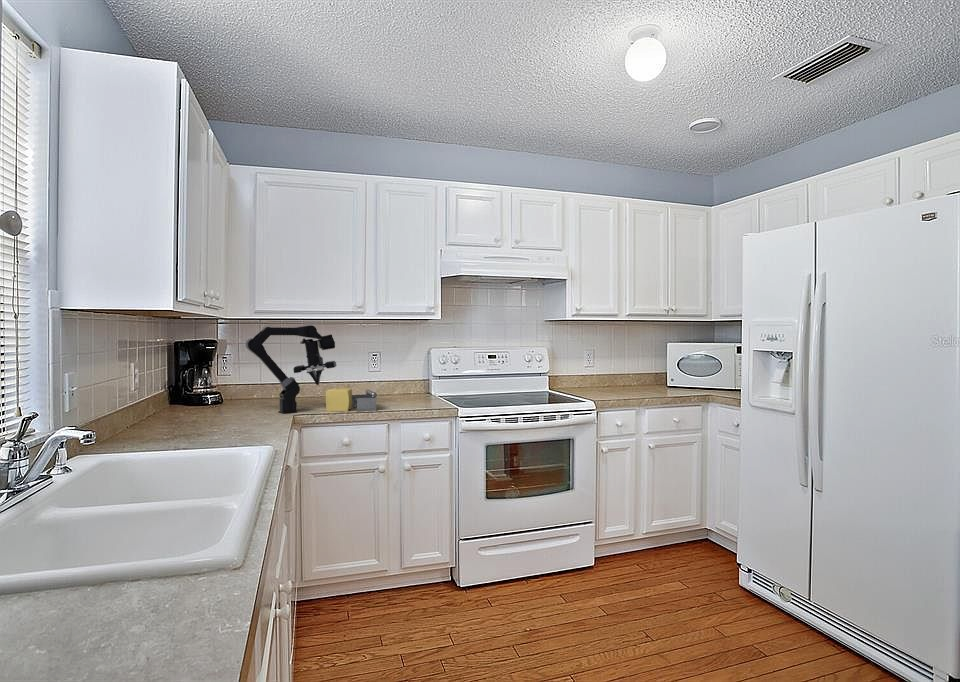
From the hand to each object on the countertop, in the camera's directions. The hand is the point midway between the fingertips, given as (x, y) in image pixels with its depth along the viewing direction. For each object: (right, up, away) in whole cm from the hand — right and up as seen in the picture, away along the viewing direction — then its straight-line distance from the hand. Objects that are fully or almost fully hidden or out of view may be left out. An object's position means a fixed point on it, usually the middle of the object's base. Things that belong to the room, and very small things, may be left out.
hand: (317, 385), depth 275 cm
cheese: (+10, -12, +3) cm, 16 cm away
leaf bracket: (+20, -12, +7) cm, 24 cm away
